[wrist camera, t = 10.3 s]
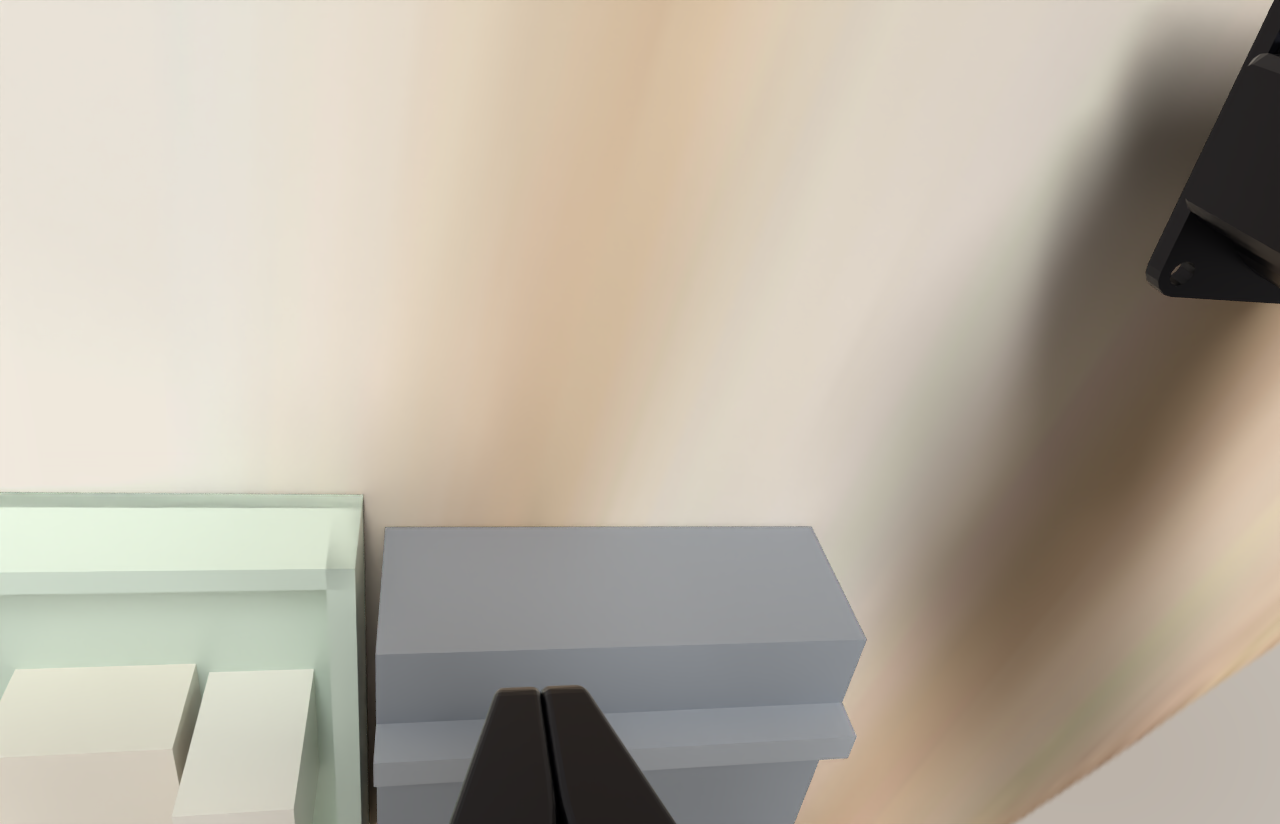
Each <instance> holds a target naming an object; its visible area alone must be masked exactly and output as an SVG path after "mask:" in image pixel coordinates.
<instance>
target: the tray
mask: <svg viewBox="0 0 1280 824" xmlns="http://www.w3.org/2000/svg"><path fill="white" fill-rule="evenodd" d="M166 664H196V667H197V673H198V679H199V685H200V692H201V698H203V694H204V690H205V687H206V683H207V679H208V675H209V672H233V671H264V670H295V669H314V678H315V695H316V712H317V728H318V745H319V762H320V768H319V776H318V784H317V792H316V800H315V808H314V816H313V824H369V790H368V735H367V679H366V624H365V569H364V513H363V495H337V494H174V493H12V492H0V700H1V698H2V696H3V694H4V692H5V690H6V688H7V685H8V683H9V681H10V679H11V677H12V675H13V673H14V671H15V669H41V668H72V667H104V666H135V665H166Z"/></svg>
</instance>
